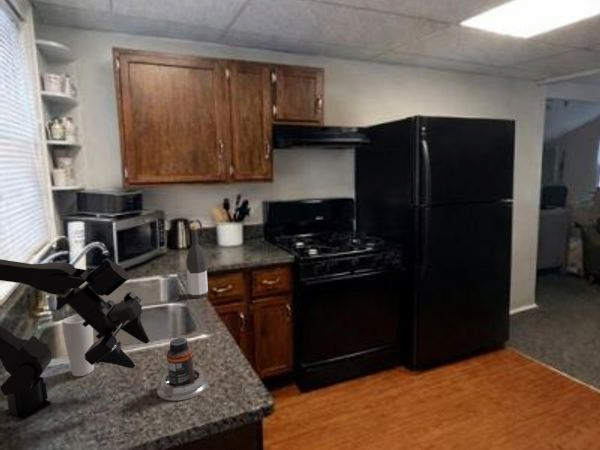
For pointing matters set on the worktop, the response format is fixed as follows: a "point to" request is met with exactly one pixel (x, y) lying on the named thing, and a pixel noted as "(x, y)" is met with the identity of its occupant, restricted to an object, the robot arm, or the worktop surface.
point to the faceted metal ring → (182, 388)
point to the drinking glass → (78, 344)
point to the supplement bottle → (180, 363)
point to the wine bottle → (196, 268)
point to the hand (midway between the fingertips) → (141, 354)
